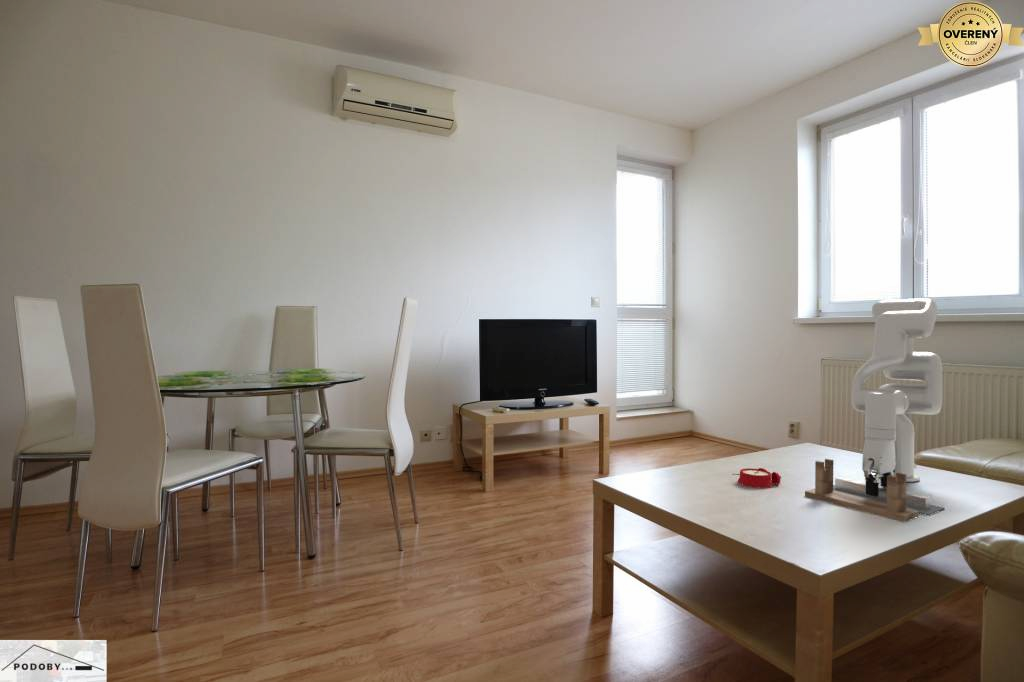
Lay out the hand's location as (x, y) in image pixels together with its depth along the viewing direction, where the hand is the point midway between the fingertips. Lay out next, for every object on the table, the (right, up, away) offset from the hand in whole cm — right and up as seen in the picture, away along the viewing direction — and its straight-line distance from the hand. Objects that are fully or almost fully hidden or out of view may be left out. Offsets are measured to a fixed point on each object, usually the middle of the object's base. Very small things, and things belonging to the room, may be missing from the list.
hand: (879, 492), depth 157 cm
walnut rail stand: (-10, -2, -6) cm, 12 cm away
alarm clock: (-28, -2, +17) cm, 32 cm away
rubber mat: (0, -2, 0) cm, 2 cm away
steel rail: (0, -1, 0) cm, 1 cm away
